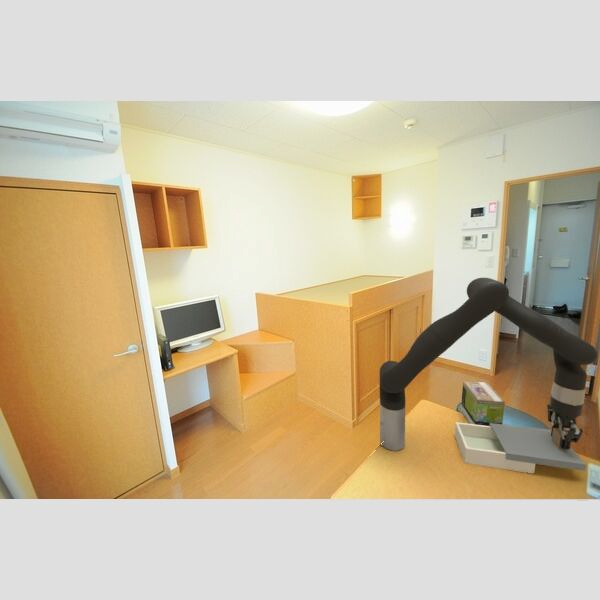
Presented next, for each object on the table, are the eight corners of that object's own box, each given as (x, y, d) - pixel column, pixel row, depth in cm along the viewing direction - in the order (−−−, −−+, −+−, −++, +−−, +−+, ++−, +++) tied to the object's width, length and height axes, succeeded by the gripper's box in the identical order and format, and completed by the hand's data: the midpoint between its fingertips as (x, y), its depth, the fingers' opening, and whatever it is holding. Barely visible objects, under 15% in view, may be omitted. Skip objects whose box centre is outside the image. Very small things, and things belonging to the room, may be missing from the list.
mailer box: (464, 463, 93) (466, 448, 92) (454, 435, 106) (455, 422, 105) (534, 473, 87) (536, 458, 86) (514, 443, 100) (515, 429, 99)
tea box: (502, 434, 105) (506, 401, 102) (474, 432, 107) (476, 399, 104) (484, 411, 119) (487, 381, 116) (460, 409, 121) (462, 380, 118)
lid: (506, 459, 88) (508, 440, 87) (488, 428, 103) (490, 411, 101) (585, 471, 82) (588, 450, 81) (554, 436, 96) (557, 418, 95)
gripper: (540, 384, 94) (534, 427, 97) (566, 409, 80) (559, 457, 84) (567, 386, 91) (560, 429, 95) (598, 412, 78) (589, 461, 82)
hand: (559, 442), depth 89 cm, fingers open, 4 cm apart
